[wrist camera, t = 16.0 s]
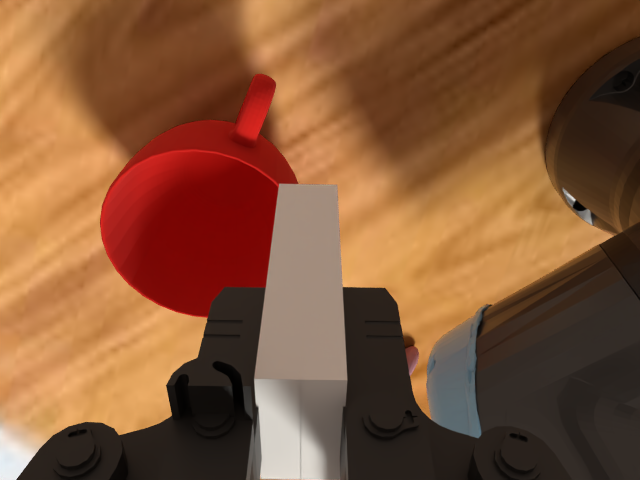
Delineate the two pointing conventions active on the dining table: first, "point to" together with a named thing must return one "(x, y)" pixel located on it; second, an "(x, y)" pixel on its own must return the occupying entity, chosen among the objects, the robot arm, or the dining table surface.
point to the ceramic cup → (198, 208)
